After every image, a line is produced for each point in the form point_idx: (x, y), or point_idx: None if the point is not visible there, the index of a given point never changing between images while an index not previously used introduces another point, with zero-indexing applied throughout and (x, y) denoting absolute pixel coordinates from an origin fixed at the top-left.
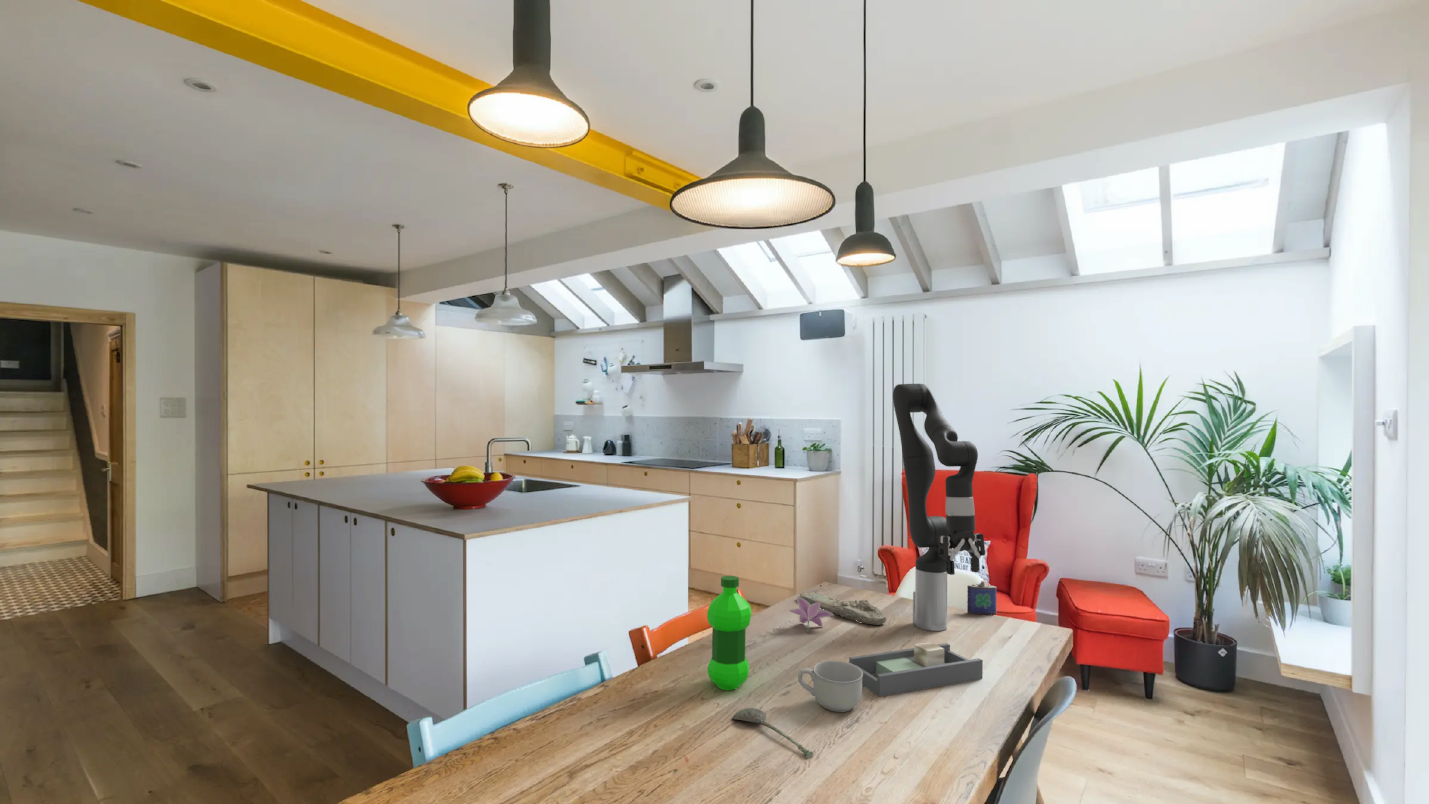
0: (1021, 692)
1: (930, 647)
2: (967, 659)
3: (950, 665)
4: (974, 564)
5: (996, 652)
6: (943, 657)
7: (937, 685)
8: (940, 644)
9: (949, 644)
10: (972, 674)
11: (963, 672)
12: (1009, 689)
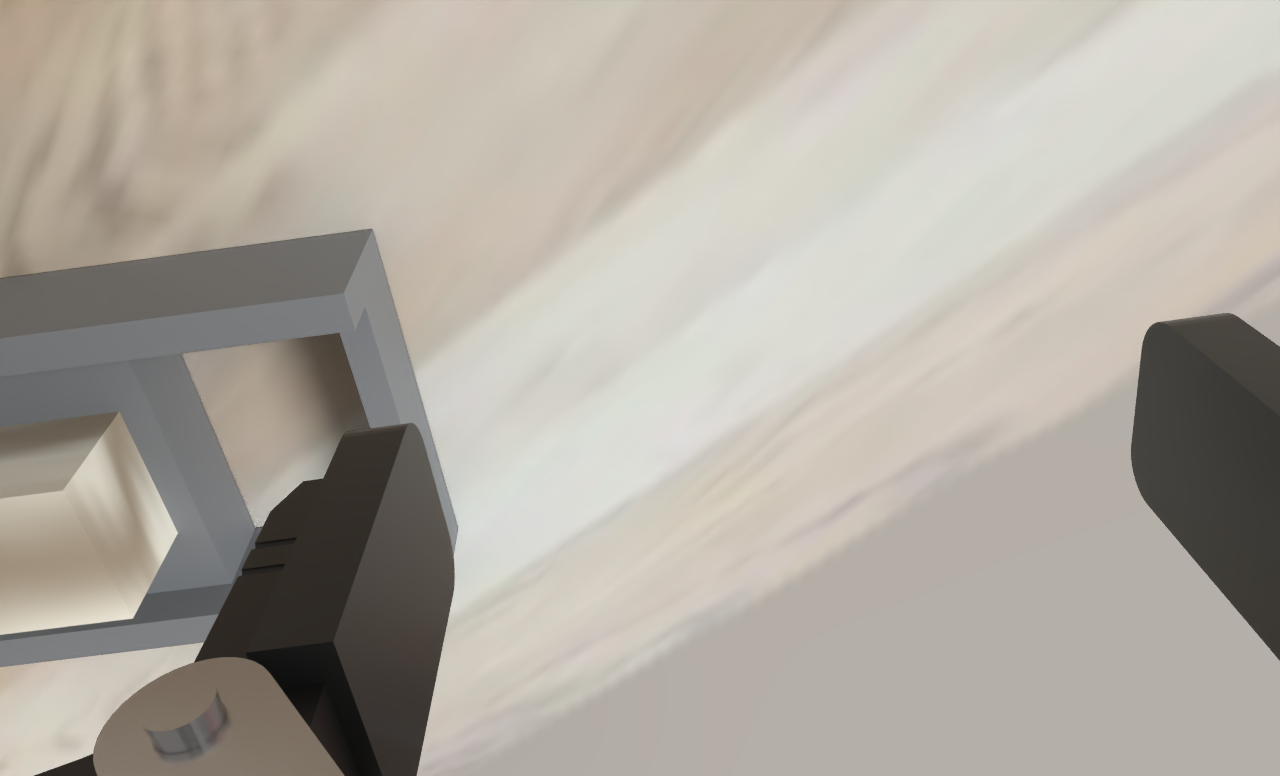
0: (566, 683)
1: (20, 587)
2: None
3: (164, 645)
4: (1237, 533)
5: (917, 148)
6: (151, 570)
7: None
8: (265, 311)
9: (354, 323)
10: None
11: None
12: (526, 651)
